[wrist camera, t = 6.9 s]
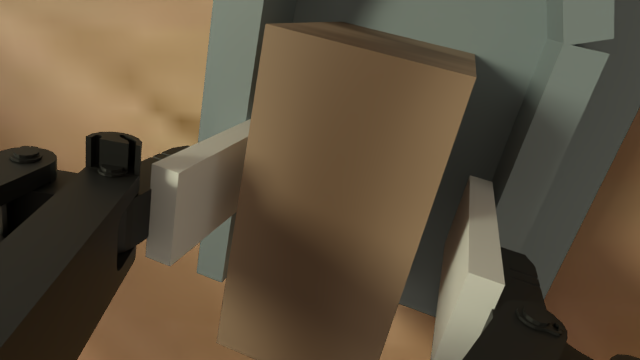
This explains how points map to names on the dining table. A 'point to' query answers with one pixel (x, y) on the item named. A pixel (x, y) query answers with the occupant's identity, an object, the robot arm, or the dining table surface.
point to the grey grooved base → (473, 110)
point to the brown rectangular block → (337, 187)
